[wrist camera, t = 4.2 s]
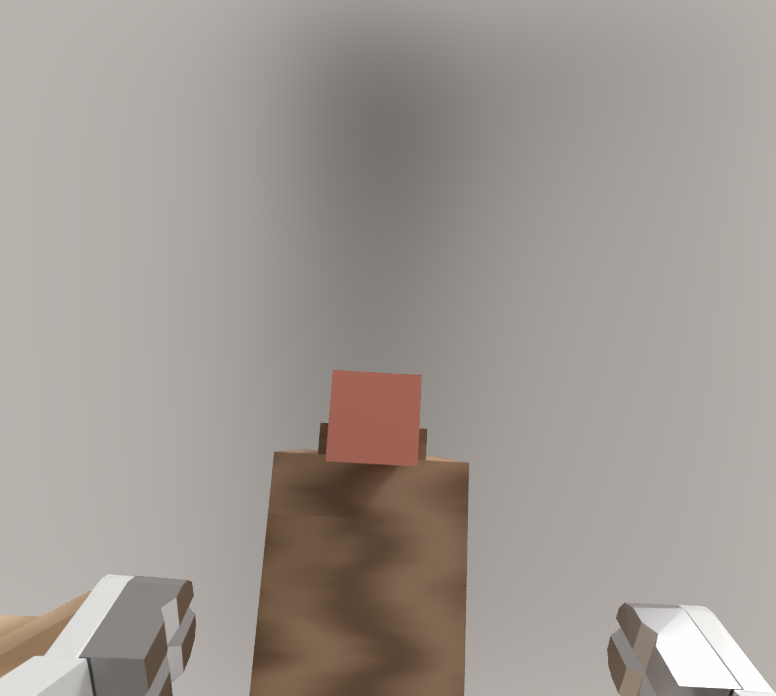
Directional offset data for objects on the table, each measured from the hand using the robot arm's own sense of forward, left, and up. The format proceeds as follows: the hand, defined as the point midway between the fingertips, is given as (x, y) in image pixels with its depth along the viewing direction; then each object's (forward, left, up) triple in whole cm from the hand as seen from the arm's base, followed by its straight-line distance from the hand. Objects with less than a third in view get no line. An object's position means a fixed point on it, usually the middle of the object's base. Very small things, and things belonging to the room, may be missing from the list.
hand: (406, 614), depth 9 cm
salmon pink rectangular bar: (-1, +17, +2) cm, 17 cm away
